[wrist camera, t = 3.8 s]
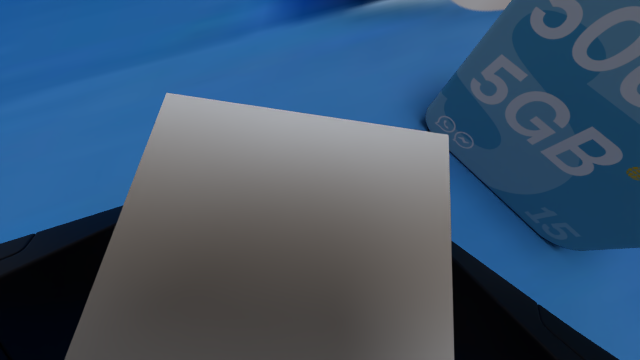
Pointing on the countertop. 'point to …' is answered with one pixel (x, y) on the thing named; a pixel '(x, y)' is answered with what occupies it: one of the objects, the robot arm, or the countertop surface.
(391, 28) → the countertop surface
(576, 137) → the data package
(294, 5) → the countertop surface
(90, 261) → the robot arm
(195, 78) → the countertop surface
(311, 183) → the gray square block
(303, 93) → the countertop surface
